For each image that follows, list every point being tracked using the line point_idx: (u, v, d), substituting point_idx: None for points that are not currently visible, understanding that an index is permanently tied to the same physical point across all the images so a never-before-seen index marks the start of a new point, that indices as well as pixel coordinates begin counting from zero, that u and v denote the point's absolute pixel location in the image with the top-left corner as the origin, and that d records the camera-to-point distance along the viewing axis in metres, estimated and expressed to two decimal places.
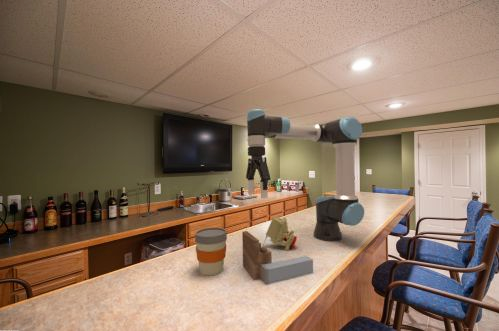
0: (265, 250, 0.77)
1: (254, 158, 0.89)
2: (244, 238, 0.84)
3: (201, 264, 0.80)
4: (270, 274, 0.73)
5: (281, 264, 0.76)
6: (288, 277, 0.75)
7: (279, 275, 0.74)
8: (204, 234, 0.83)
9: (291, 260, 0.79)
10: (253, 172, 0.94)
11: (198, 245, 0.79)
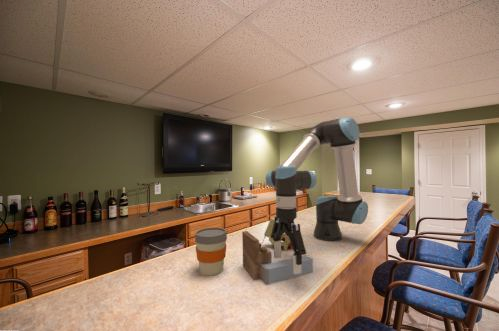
0: (265, 250, 0.77)
1: (284, 221, 0.77)
2: (244, 238, 0.84)
3: (201, 264, 0.80)
4: (270, 274, 0.73)
5: (281, 264, 0.76)
6: (288, 277, 0.76)
7: (279, 275, 0.74)
8: (204, 234, 0.82)
9: (291, 260, 0.79)
10: (281, 233, 0.82)
11: (198, 245, 0.79)
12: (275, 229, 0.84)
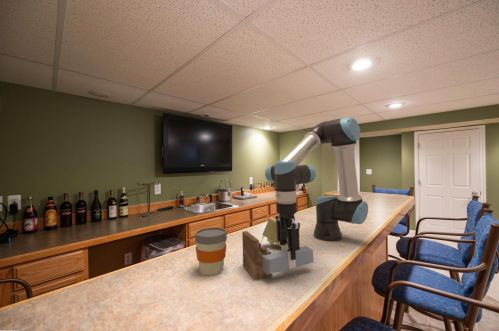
0: (265, 250, 0.77)
1: (284, 216, 0.77)
2: (244, 238, 0.84)
3: (201, 264, 0.80)
4: (271, 264, 0.73)
5: (282, 254, 0.77)
6: None
7: (280, 265, 0.74)
8: (204, 234, 0.82)
9: None
10: (285, 232, 0.80)
11: (198, 245, 0.79)
12: (279, 229, 0.82)
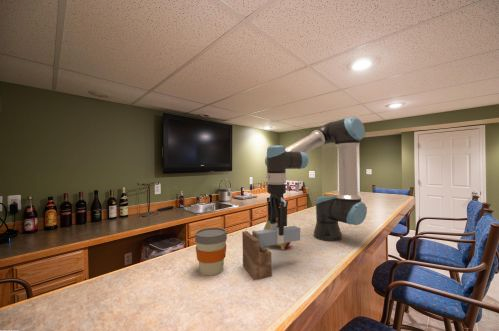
0: (265, 250, 0.77)
1: (274, 196, 0.85)
2: (244, 238, 0.84)
3: (201, 264, 0.80)
4: (261, 238, 0.80)
5: (271, 230, 0.84)
6: None
7: (269, 239, 0.82)
8: (204, 234, 0.82)
9: None
10: (275, 211, 0.87)
11: (198, 245, 0.79)
12: (270, 209, 0.90)
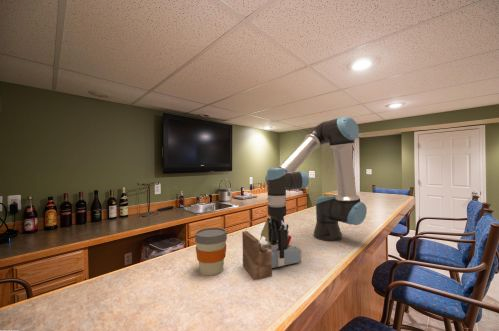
0: (265, 250, 0.77)
1: (274, 218, 0.85)
2: (244, 238, 0.84)
3: (201, 264, 0.80)
4: None
5: (272, 253, 0.84)
6: None
7: None
8: (204, 234, 0.82)
9: None
10: (275, 233, 0.87)
11: (198, 245, 0.79)
12: (270, 230, 0.89)
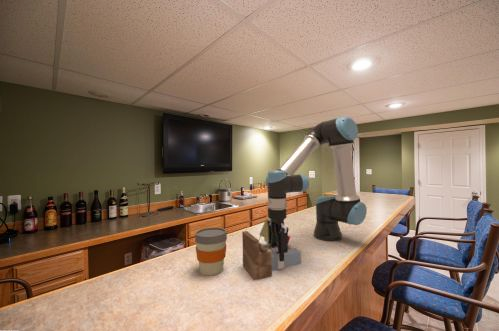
0: (265, 250, 0.77)
1: (275, 221, 0.85)
2: (244, 238, 0.84)
3: (201, 264, 0.80)
4: None
5: (271, 255, 0.84)
6: None
7: None
8: (204, 234, 0.82)
9: None
10: (275, 236, 0.87)
11: (198, 245, 0.79)
12: (270, 233, 0.89)
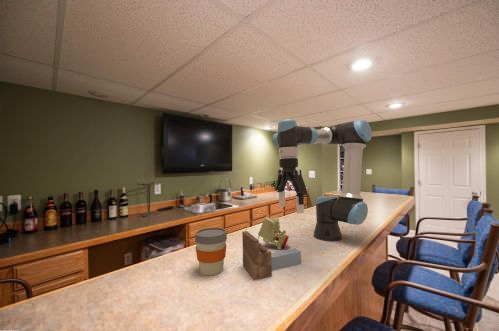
0: (265, 250, 0.77)
1: (286, 170, 0.86)
2: (244, 238, 0.84)
3: (201, 264, 0.80)
4: None
5: (271, 255, 0.84)
6: (278, 267, 0.83)
7: None
8: (204, 234, 0.82)
9: (281, 252, 0.87)
10: (284, 183, 0.90)
11: (198, 245, 0.79)
12: (279, 181, 0.93)
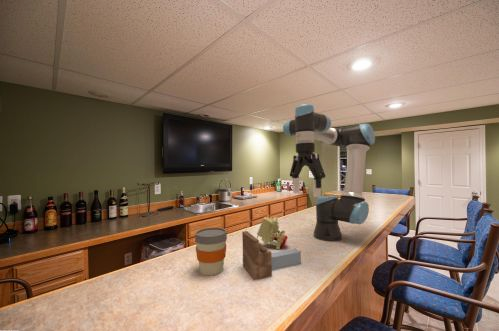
0: (265, 250, 0.77)
1: (303, 155, 0.86)
2: (244, 238, 0.84)
3: (201, 264, 0.80)
4: None
5: (271, 255, 0.84)
6: (278, 267, 0.83)
7: None
8: (204, 234, 0.82)
9: (281, 252, 0.87)
10: (299, 169, 0.90)
11: (198, 245, 0.79)
12: (294, 167, 0.93)
